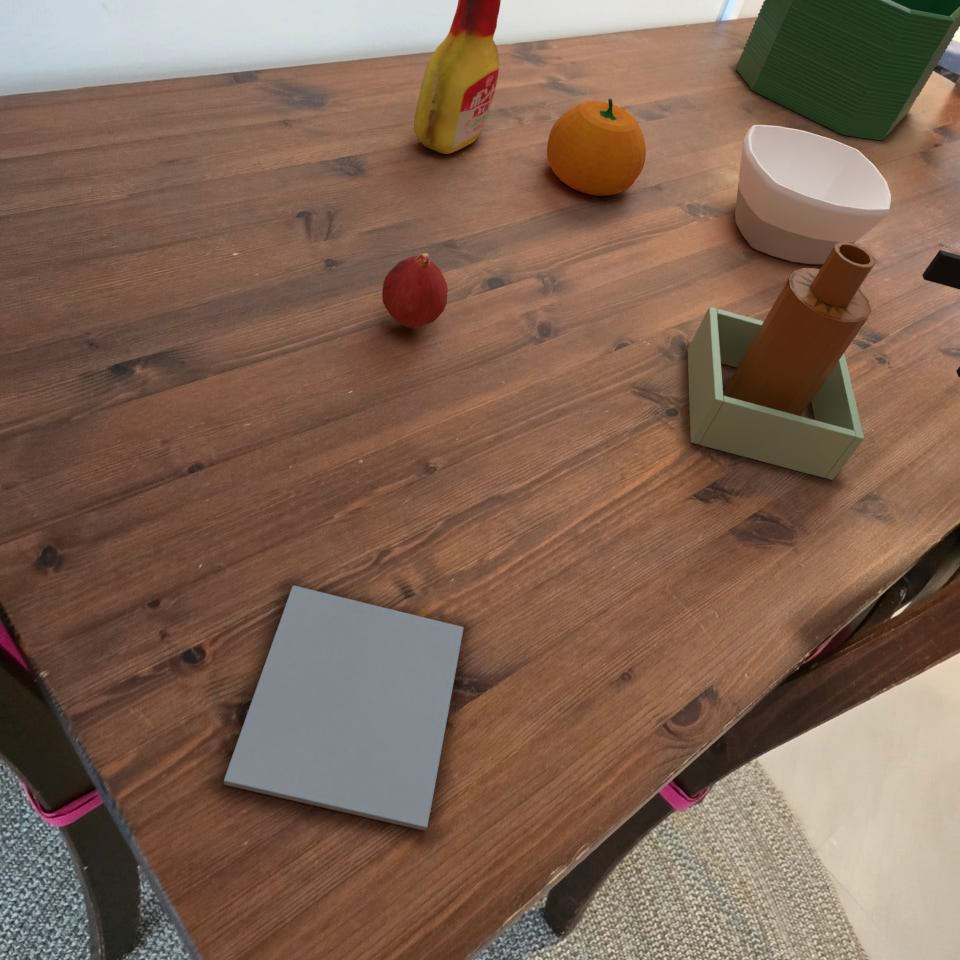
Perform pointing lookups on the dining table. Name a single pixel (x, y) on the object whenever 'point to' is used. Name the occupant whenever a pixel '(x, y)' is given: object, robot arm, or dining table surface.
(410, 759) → the mat
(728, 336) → the bin
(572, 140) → the fruit
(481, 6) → the bottle
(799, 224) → the bowl
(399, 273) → the onion
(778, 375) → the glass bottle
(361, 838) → the dining table surface
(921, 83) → the planter
